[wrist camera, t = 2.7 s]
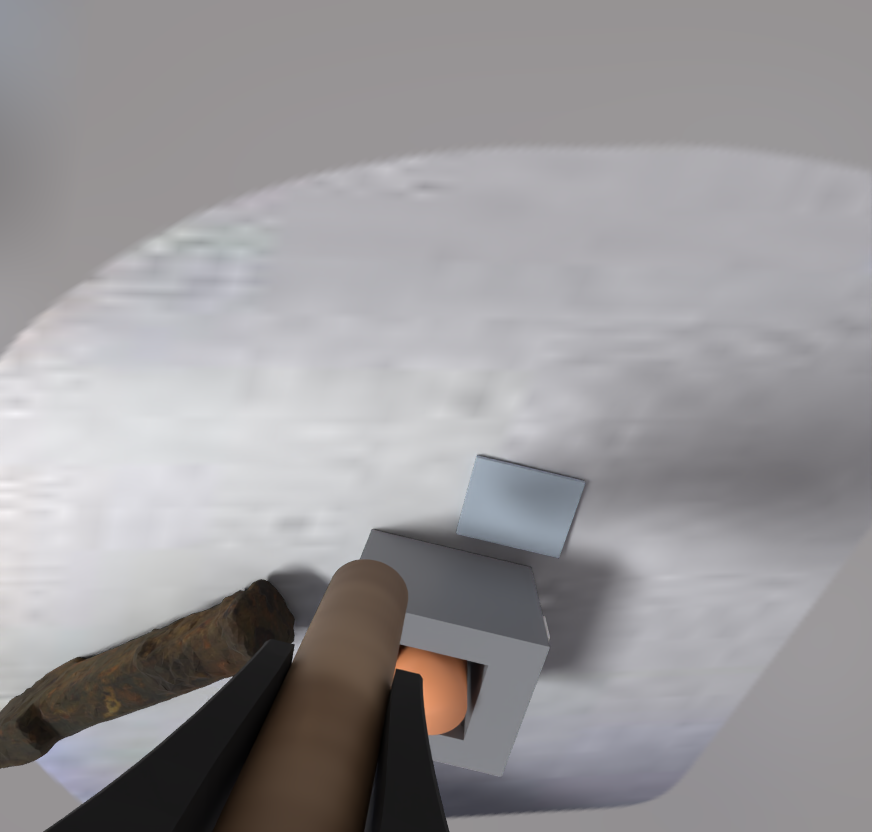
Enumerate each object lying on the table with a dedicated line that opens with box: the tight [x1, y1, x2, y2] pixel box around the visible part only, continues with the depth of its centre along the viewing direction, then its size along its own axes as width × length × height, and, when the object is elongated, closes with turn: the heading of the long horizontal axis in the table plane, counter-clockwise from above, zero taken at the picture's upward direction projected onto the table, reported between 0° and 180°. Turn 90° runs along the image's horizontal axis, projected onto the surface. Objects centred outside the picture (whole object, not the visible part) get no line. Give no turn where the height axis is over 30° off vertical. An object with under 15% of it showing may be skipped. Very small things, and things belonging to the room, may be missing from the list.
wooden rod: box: [212, 559, 408, 832], centre depth 10 cm, size 3×3×9 cm
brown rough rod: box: [0, 579, 295, 768], centre depth 22 cm, size 19×4×5 cm, turn 113°
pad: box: [456, 455, 585, 558], centre depth 20 cm, size 4×5×1 cm
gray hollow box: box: [360, 529, 550, 777], centre depth 20 cm, size 7×8×5 cm
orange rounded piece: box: [393, 644, 467, 735], centre depth 18 cm, size 3×3×2 cm
